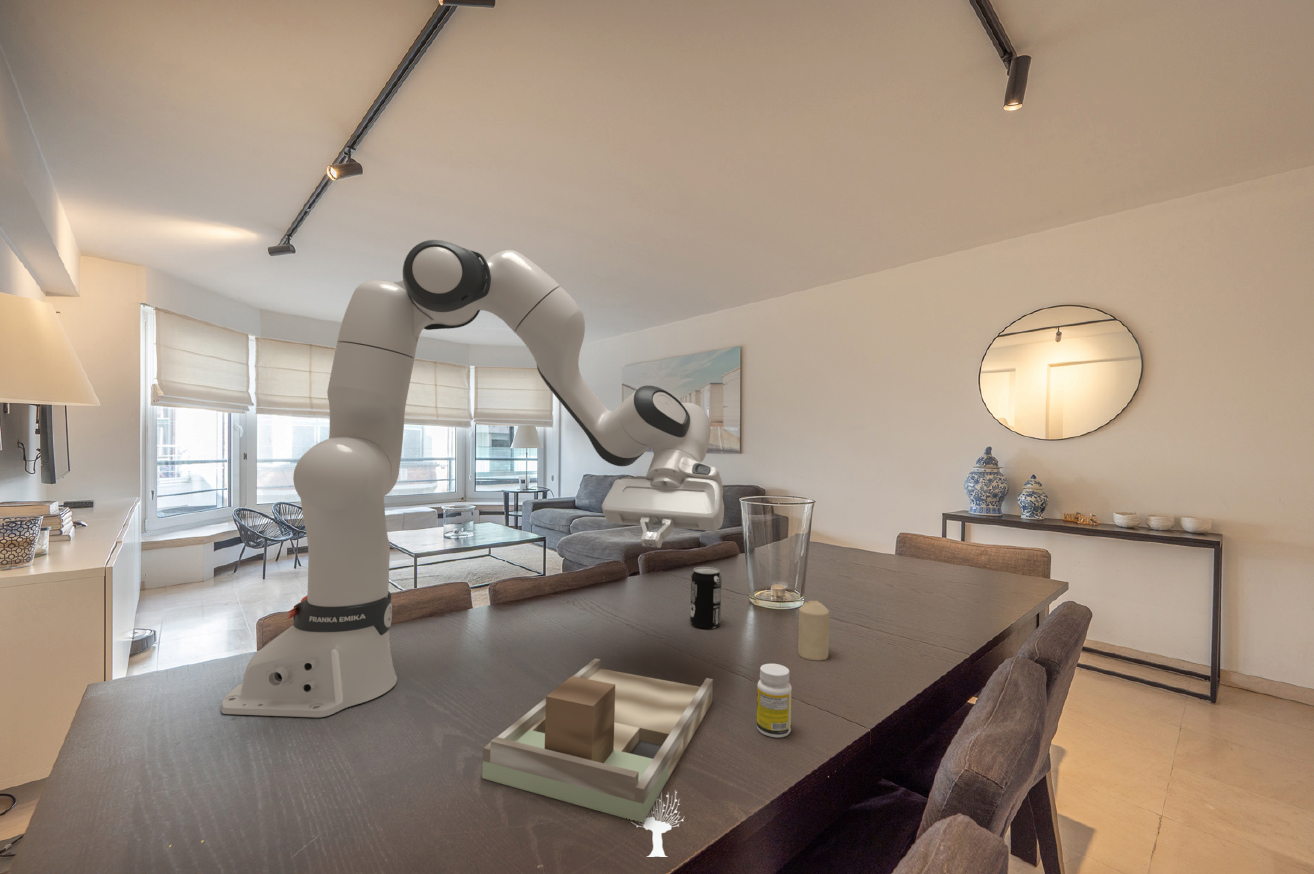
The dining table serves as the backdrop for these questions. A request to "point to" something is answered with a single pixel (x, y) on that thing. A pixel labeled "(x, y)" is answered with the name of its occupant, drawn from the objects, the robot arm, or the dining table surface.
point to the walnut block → (581, 719)
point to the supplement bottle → (774, 701)
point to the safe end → (580, 794)
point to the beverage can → (705, 597)
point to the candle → (813, 631)
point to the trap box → (615, 735)
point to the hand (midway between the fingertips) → (650, 544)
